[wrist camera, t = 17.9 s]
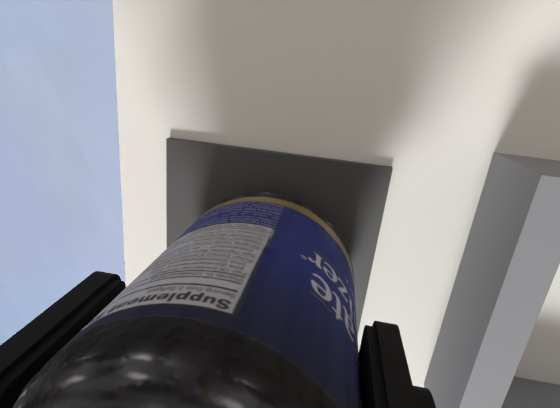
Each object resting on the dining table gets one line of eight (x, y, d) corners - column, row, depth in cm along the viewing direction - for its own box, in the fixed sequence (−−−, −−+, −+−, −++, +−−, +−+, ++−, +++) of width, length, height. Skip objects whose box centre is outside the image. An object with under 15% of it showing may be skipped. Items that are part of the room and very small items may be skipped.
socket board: (937, 15, 10) (1310, -24, 6) (673, 431, 16) (786, 550, 12) (129, -48, 13) (37, -103, 9) (141, 330, 18) (87, 400, 14)
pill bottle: (367, 328, 14) (456, 1133, 3) (215, 345, 15) (-69, 952, 5) (332, 168, 12) (284, 787, 1) (164, 204, 13) (-472, 659, 3)
